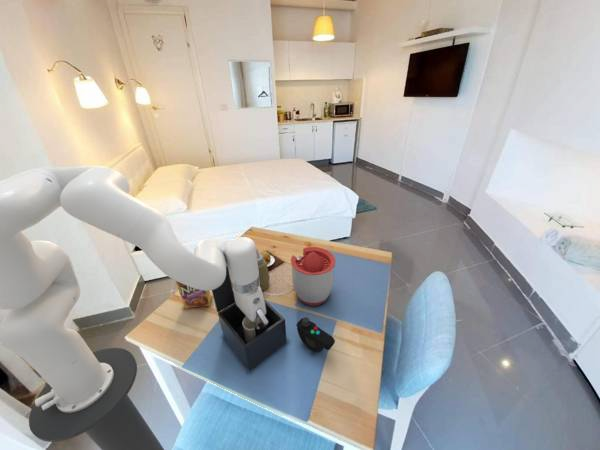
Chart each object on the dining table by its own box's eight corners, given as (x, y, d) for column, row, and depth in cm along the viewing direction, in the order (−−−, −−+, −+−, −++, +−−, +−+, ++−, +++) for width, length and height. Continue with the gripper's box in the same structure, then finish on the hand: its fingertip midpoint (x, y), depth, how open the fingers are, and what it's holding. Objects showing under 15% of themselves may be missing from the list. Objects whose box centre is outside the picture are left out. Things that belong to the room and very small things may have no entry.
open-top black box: (286, 342, 78) (285, 319, 73) (249, 371, 70) (244, 348, 65) (258, 313, 88) (255, 290, 83) (223, 336, 81) (217, 313, 75)
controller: (303, 332, 81) (302, 310, 77) (335, 354, 75) (337, 332, 70) (294, 341, 79) (293, 319, 74) (327, 365, 72) (328, 343, 67)
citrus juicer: (307, 273, 106) (307, 233, 97) (341, 293, 96) (345, 251, 86) (280, 293, 97) (277, 251, 87) (315, 318, 86) (315, 273, 76)
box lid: (251, 251, 74) (242, 243, 77) (208, 271, 66) (200, 262, 70) (256, 290, 83) (247, 282, 86) (217, 312, 75) (210, 302, 78)
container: (252, 351, 75) (249, 333, 71) (242, 338, 79) (238, 320, 75) (268, 339, 79) (266, 321, 75) (258, 327, 82) (255, 310, 79)
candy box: (184, 309, 91) (173, 277, 83) (187, 300, 94) (176, 269, 87) (209, 306, 92) (200, 274, 84) (211, 297, 95) (203, 266, 88)
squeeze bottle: (258, 276, 105) (254, 241, 96) (274, 283, 102) (271, 246, 93) (245, 288, 99) (239, 251, 90) (261, 296, 96) (257, 258, 87)
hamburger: (266, 251, 121) (265, 242, 118) (283, 262, 114) (283, 252, 111) (246, 263, 114) (244, 253, 111) (262, 275, 106) (261, 264, 103)
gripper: (276, 291, 63) (279, 335, 72) (241, 260, 75) (247, 301, 83) (250, 306, 59) (257, 351, 67) (217, 271, 70) (226, 313, 79)
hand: (251, 323), depth 75 cm, fingers open, 9 cm apart
